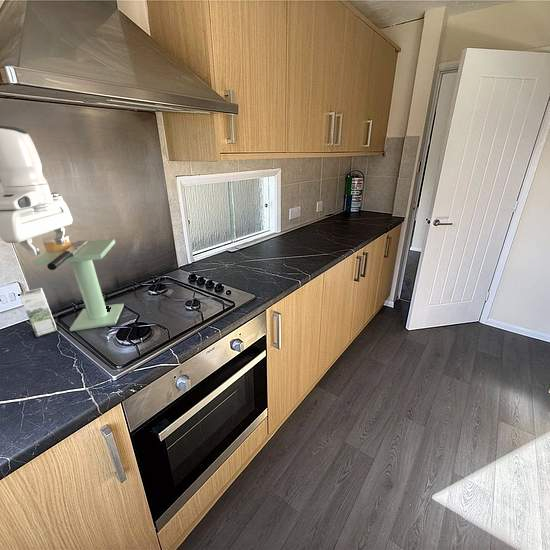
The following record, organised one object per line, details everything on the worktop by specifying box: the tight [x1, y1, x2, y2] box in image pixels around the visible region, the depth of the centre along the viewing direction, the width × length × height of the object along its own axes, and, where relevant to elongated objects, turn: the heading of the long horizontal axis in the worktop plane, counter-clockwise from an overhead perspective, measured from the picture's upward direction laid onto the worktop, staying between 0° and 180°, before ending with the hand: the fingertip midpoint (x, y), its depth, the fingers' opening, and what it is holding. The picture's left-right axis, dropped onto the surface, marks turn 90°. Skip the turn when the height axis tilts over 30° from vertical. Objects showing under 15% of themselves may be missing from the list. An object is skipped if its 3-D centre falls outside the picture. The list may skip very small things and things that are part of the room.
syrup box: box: [19, 287, 58, 338], centre depth 96 cm, size 6×6×14 cm
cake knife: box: [46, 239, 89, 271], centre depth 89 cm, size 25×3×2 cm, turn 15°
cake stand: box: [32, 233, 125, 332], centre depth 99 cm, size 18×18×30 cm
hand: (48, 249), depth 79 cm, fingers open, 8 cm apart
